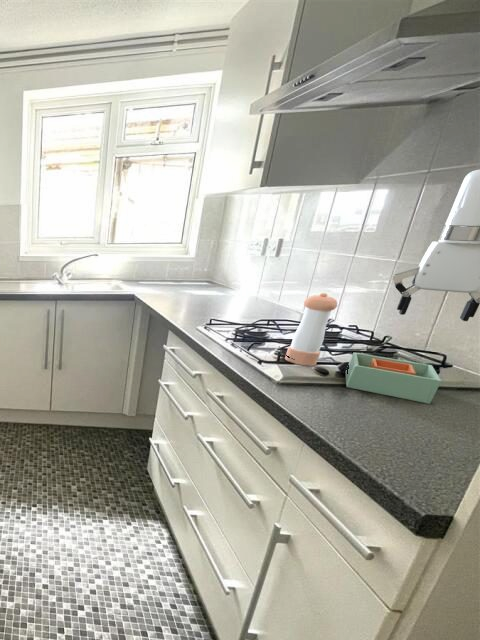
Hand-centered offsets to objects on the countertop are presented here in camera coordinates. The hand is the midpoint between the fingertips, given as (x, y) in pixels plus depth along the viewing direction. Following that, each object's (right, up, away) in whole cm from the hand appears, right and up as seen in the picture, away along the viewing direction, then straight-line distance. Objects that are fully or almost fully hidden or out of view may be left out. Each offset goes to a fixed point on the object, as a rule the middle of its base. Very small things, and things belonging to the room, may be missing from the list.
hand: (431, 316), depth 92 cm
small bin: (-2, -15, +9) cm, 18 cm away
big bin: (-2, -16, +9) cm, 18 cm away
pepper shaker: (-9, -9, +25) cm, 28 cm away
